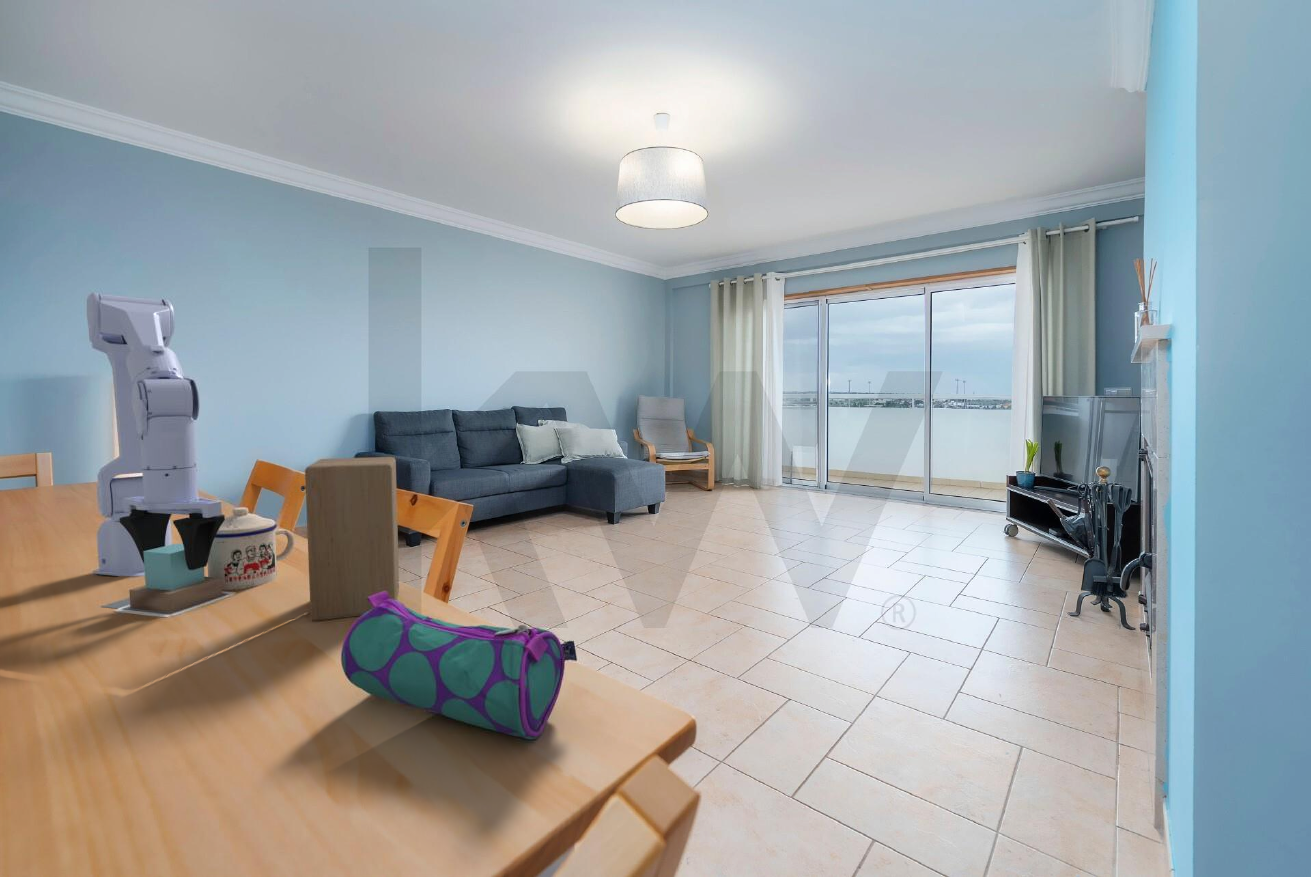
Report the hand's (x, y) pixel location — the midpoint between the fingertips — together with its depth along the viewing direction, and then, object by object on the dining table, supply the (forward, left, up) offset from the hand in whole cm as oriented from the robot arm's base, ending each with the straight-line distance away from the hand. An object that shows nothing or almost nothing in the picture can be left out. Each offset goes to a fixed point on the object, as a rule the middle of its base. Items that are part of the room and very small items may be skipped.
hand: (175, 565), depth 81 cm
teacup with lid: (+1, +11, -6) cm, 12 cm away
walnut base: (0, 0, -5) cm, 5 cm away
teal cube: (0, 0, -2) cm, 3 cm away
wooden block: (+24, +6, -6) cm, 25 cm away
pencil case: (+52, -15, -6) cm, 55 cm away
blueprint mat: (-2, 0, -5) cm, 6 cm away
